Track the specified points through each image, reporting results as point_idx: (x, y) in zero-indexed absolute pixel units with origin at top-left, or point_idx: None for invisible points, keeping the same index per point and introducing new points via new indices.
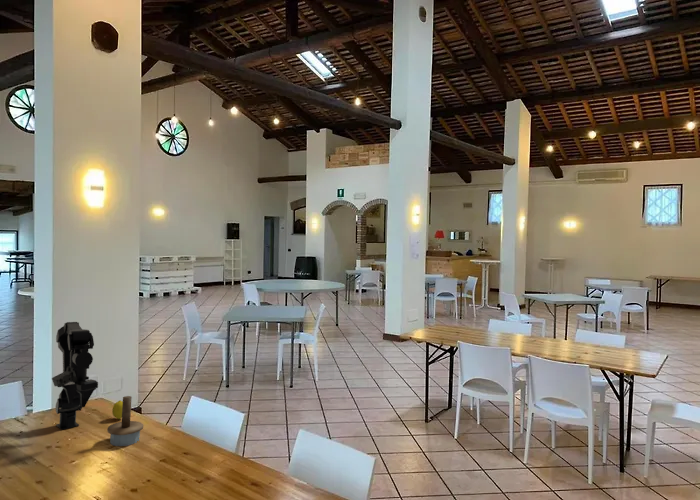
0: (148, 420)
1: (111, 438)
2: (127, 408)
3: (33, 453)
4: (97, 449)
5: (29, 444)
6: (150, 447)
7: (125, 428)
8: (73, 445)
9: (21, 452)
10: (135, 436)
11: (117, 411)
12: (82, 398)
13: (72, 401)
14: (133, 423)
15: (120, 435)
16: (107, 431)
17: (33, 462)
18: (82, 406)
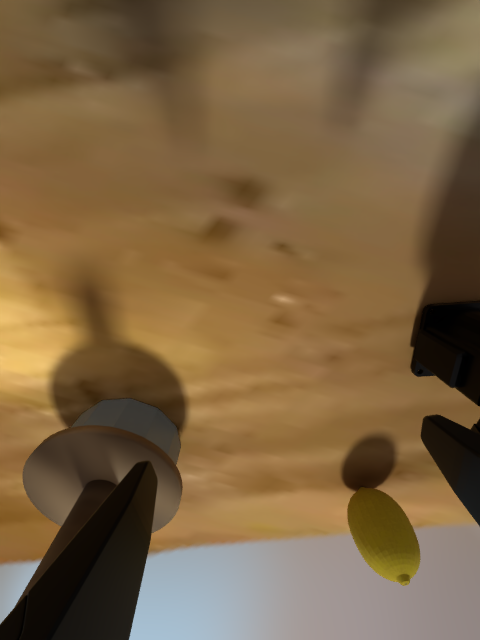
0: (276, 536)
1: (111, 414)
2: None
3: (199, 90)
4: (90, 347)
5: (354, 109)
6: None
7: (79, 486)
8: (192, 288)
9: (258, 27)
10: None
11: (361, 520)
12: (11, 626)
13: (431, 452)
14: None
15: None
16: (109, 427)
17: (60, 49)
18: (134, 475)
